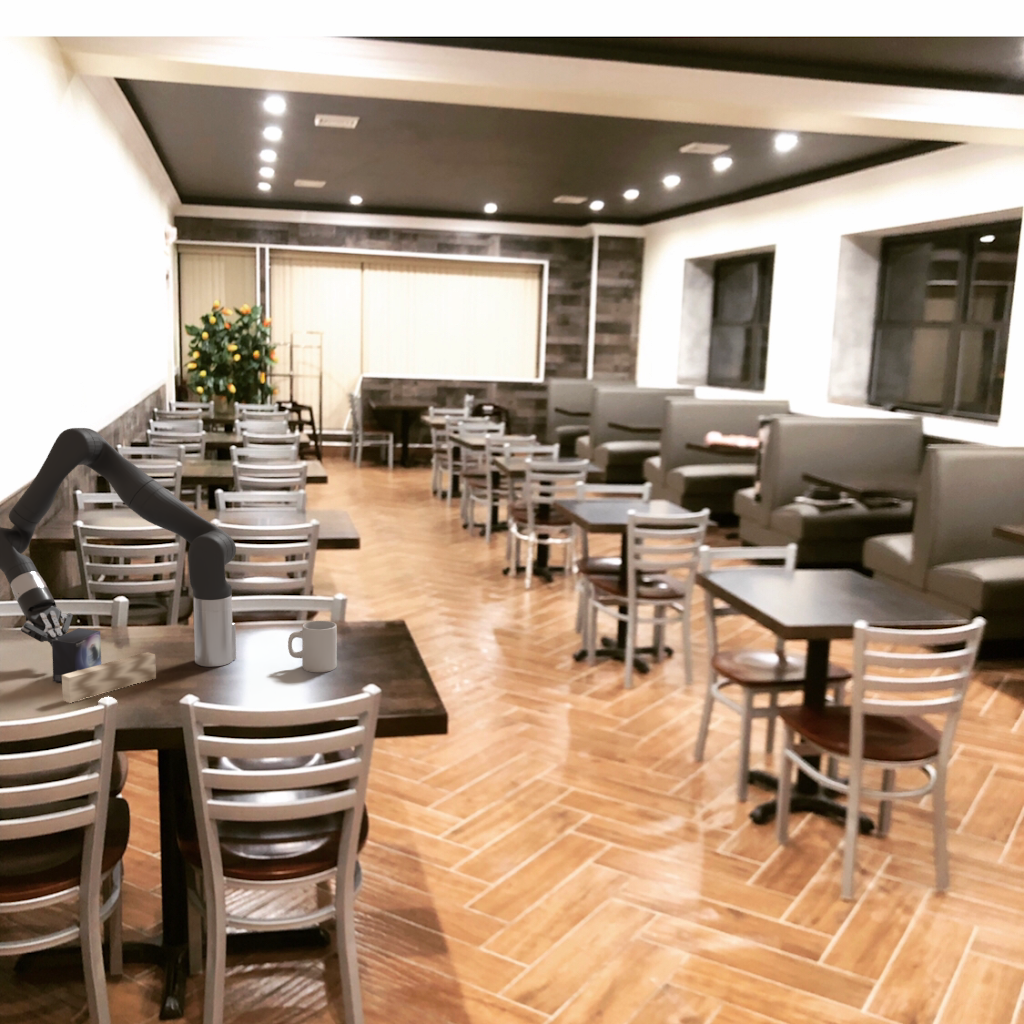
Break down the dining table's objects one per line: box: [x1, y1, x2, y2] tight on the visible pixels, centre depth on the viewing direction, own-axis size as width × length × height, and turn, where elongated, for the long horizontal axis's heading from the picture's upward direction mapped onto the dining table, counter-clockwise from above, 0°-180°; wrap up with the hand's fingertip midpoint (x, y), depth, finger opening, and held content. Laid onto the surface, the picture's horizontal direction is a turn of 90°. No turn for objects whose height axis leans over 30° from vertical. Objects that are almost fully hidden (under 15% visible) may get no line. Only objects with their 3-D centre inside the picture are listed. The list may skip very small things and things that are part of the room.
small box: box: [51, 627, 102, 684], centre depth 241 cm, size 11×6×10 cm, turn 168°
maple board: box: [61, 651, 157, 704], centre depth 233 cm, size 22×3×6 cm, turn 144°
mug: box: [287, 620, 338, 673], centre depth 252 cm, size 12×8×11 cm
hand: (62, 651), depth 244 cm, fingers closed
